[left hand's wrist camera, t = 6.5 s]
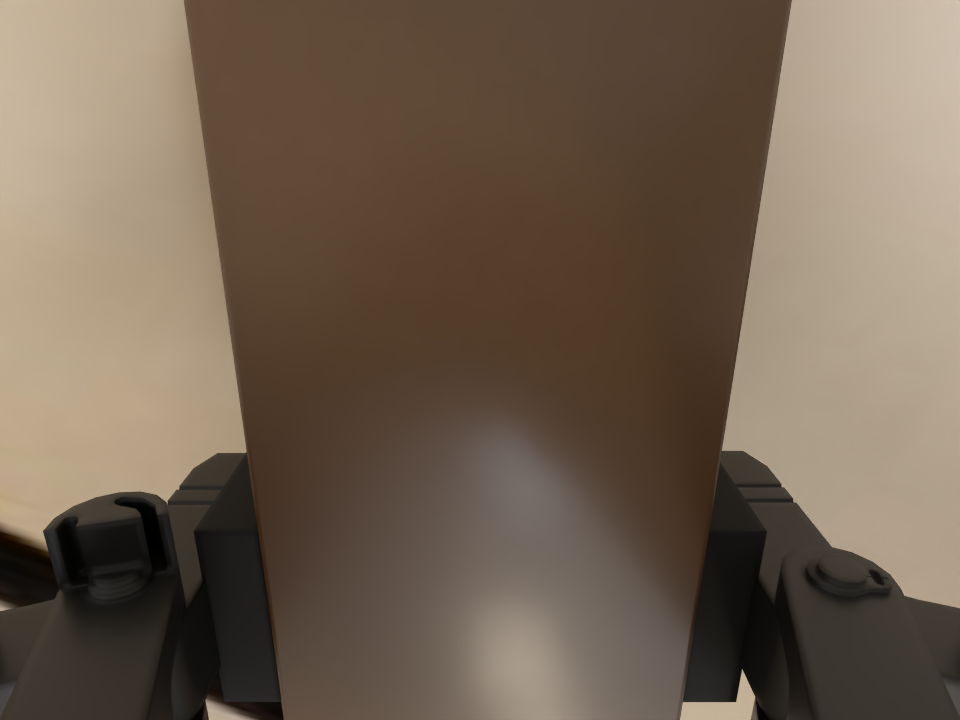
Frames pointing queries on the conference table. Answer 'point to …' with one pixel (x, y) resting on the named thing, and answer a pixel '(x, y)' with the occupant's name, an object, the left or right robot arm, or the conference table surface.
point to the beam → (485, 334)
